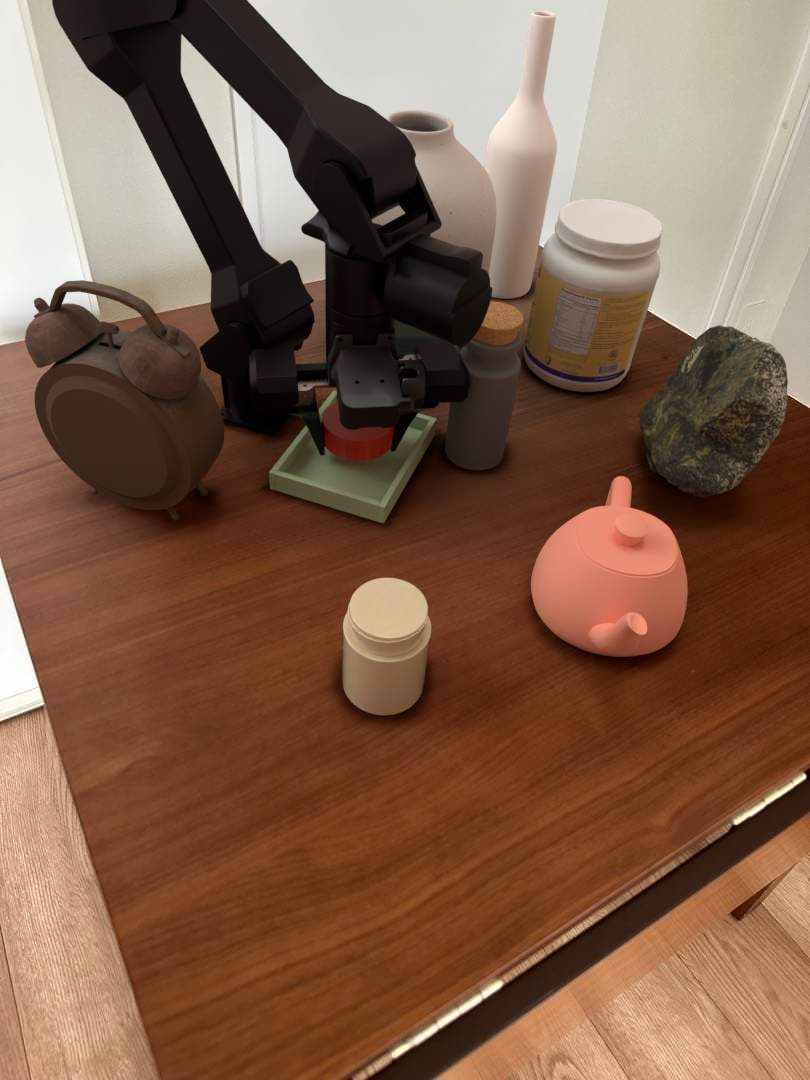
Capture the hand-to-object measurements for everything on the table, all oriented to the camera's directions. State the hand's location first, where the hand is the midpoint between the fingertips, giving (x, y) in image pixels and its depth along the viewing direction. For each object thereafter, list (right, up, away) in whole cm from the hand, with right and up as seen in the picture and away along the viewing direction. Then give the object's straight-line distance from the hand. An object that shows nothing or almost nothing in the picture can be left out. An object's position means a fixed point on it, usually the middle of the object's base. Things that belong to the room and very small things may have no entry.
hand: (357, 450), depth 74 cm
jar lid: (0, +2, -2) cm, 3 cm away
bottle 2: (+11, 0, +3) cm, 12 cm away
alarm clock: (-18, -4, -4) cm, 19 cm away
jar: (+3, -19, -17) cm, 25 cm away
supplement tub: (+24, +11, +15) cm, 31 cm away
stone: (+32, -2, +2) cm, 32 cm away
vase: (+4, +14, +16) cm, 21 cm away
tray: (0, -1, +1) cm, 1 cm away
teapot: (+20, -15, -11) cm, 27 cm away
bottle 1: (+17, +25, +28) cm, 41 cm away
